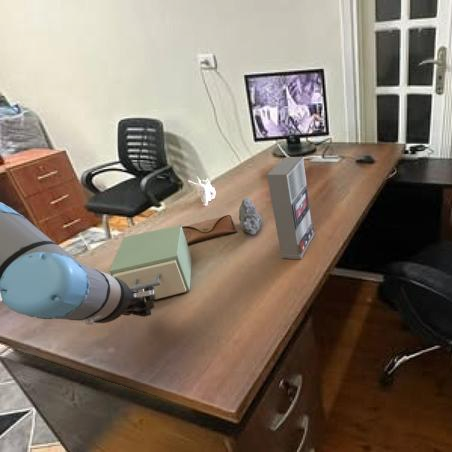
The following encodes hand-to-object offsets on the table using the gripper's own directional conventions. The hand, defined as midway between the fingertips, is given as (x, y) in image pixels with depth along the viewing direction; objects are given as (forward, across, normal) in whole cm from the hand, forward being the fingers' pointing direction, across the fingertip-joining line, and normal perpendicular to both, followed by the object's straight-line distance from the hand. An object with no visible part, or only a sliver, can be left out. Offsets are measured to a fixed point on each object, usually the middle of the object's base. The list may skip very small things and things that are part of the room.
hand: (146, 309), depth 76 cm
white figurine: (+52, +12, +45) cm, 70 cm away
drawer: (+13, 0, +7) cm, 15 cm away
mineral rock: (+29, +25, +22) cm, 44 cm away
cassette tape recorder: (+16, +38, +9) cm, 43 cm away
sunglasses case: (+30, +12, +24) cm, 40 cm away
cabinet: (+16, 0, +9) cm, 19 cm away
